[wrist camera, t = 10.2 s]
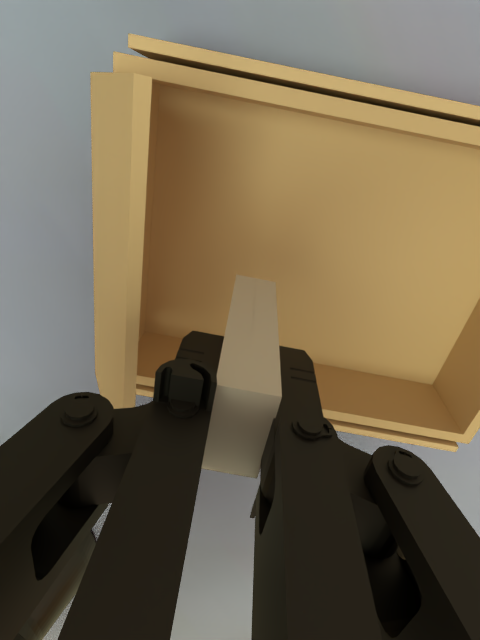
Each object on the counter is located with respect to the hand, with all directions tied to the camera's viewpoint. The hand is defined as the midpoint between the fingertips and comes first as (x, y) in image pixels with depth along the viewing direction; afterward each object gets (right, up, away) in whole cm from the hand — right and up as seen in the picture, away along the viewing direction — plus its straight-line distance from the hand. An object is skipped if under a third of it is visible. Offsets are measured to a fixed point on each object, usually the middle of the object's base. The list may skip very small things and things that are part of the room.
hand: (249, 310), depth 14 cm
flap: (-7, +3, +2) cm, 8 cm away
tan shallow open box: (+4, +3, +7) cm, 9 cm away
